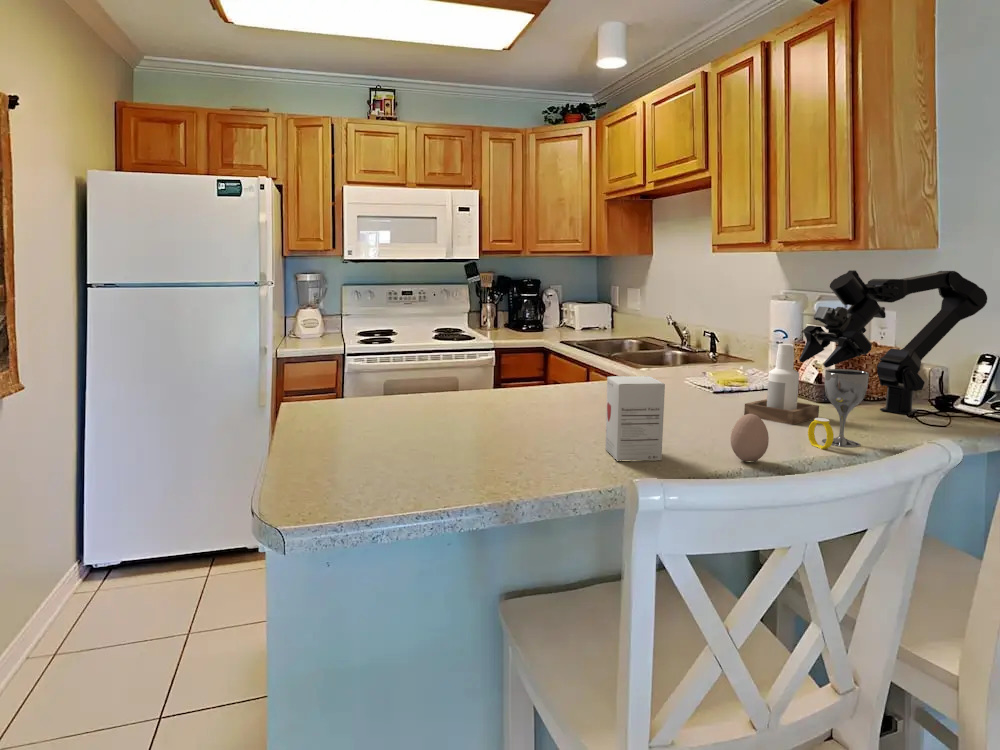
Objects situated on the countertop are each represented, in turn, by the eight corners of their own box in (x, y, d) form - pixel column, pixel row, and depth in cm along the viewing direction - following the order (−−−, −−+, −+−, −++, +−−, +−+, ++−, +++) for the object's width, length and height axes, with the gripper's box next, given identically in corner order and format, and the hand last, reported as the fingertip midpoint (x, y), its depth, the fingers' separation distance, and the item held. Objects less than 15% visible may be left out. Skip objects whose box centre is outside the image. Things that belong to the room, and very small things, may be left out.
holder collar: (771, 409, 168) (771, 398, 168) (818, 417, 159) (819, 405, 158) (744, 415, 161) (744, 403, 160) (792, 424, 151) (792, 412, 151)
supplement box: (603, 449, 129) (606, 375, 127) (647, 448, 130) (650, 375, 128) (615, 462, 120) (618, 383, 118) (662, 461, 121) (666, 382, 119)
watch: (835, 452, 129) (839, 423, 128) (822, 452, 128) (826, 424, 127) (814, 442, 135) (818, 415, 133) (803, 443, 134) (806, 415, 133)
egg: (728, 455, 125) (731, 409, 124) (765, 458, 123) (768, 411, 122) (730, 464, 119) (733, 416, 118) (768, 468, 117) (772, 418, 116)
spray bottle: (769, 412, 164) (774, 342, 162) (798, 416, 161) (803, 343, 158) (763, 417, 159) (767, 344, 156) (793, 421, 155) (798, 346, 152)
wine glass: (868, 448, 130) (875, 375, 128) (825, 446, 132) (831, 374, 130) (855, 439, 138) (861, 369, 136) (815, 437, 140) (820, 368, 137)
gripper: (812, 294, 167) (770, 337, 166) (865, 296, 149) (818, 344, 148) (836, 324, 169) (795, 366, 169) (891, 330, 151) (845, 378, 151)
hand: (812, 363), depth 159 cm, fingers open, 9 cm apart
